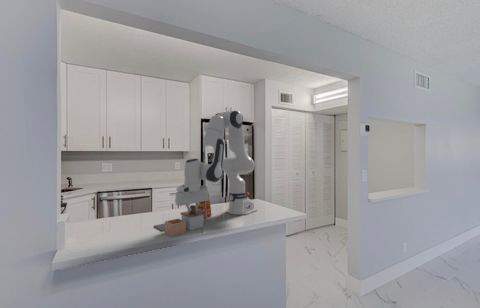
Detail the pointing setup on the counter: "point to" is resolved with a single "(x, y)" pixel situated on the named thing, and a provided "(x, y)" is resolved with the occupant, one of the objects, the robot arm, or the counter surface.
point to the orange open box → (175, 227)
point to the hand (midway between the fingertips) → (192, 210)
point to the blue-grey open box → (193, 222)
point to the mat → (160, 227)
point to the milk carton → (205, 208)
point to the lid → (192, 212)
